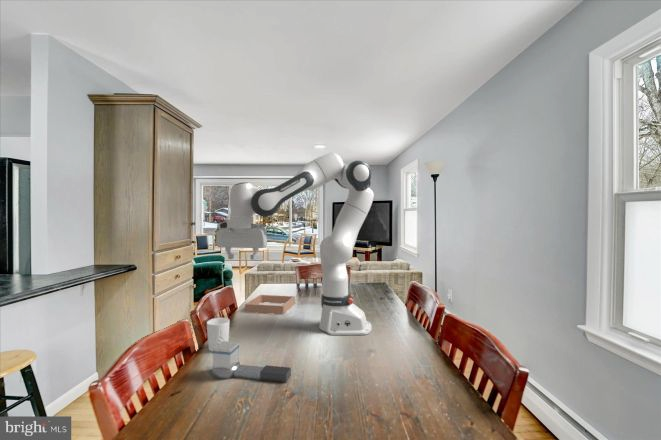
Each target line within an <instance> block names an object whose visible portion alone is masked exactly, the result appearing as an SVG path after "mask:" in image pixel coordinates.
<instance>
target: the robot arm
mask: <svg viewBox="0 0 661 440" xmlns="http://www.w3.org/2000/svg"><path fill="white" fill-rule="evenodd" d="M371 178H372V169H371V167H370V165H369V164H368V163H366V162H365V161H362V160H354V161H350V162H346V163H345V162H344V160H343V159H342V157H341V156H340V155H339V154H338V153H335V152H330V153H326V154H324V155H321V156H318V157H316V158H315V159H313V160H311V161H309V162H308V163H306V164H305V165H304V166H302V167H301V168H300V169H299V170H298V172H297V173H296V174H295V175H294V176H293V177H291V178H290V179H287V180H286V181H285V182H283V183H281V184H279V185H277V186H275V187H273V188H272V187H271V188H262V189H261V188H258V187H256V186H255V185H254V184H252V183H251V182H249V181H248V182H247V181H246V182H238V183H235V184H233V185H232V186H231V188H230V191H229V207H230V213H229V219H227V220H225V221H222V222H219V223H218V224H217V228H218V230H217V232H216V237H215V242H216V246H217V247H218V248H225V249H224V251H225V252H226V254H227V258H228V260H234V257H235V256H234V253H232V249H233V248H237V249H239V248H240V249H241V248H242V249H243V248H244V249H245V248H246V249H248V248H249V249H252V251H253V252H252V254H250V260H252V261H253V260H256V259H257V257H256V256H257V253H258V252H259V251H260V250H259V249H264V248H266V247H267V246H268V237H267V233H268V232H267V231H268V230H267V229H268V228H267V226H266V225H264V224H262V223H260V224H259V223H254V214H257V215H258V216H259V217H264V218H265V217H266V218H267V217H270V216H272V215H274V214H275V213H277V211H278V210H279V208H280V206H282V204H283V203H285V202H286V201H287V200H289V199H292V198H293V197H294V196H297V195H298V194H300V193H302V192H305V191H313V190H316V189H318V188H320V187H323V186H325V185H326V184H328V183H329V182H331V181H333V180H334V181H335V182H336V183H337V184H338V185H339V186H340V187H341V188H343V189H348V195H347V198H346V199H345V201H344V204H343V206H342V207H341V209H340V211H339V213H338V214H337V217H336V218H335V219H336V220H335V222H334V223H335V224H334V226H333V229H332V232H331V235H328V236H325V237H324V238H323V239H322V240H321V242H320V244H319V254H320V256H319V257H320V266H321V274H322V275H321V276H322V277H321V278H322V294H321V297H320V298H321V299H320V300H321V301H320V303H321V304H320V305H321V316H320V322H319V326H318V328H319V330H320V331H323V332H325V333H327V334H328V335H331V336H345V335H346V336H348V335H349V336H354V335H355V336H357V335H358V336H360V335H361V336H364V335H368V334H369V333H371V331H372V328H373V327H372V323H371V322H370V321H368V320H367V317H366V313H365V312H364V310H362V309H361V308H360V307H359V306H357V305H356V304H354V303H353V302H354V296H353V294H349V274H348V271H347V270H348V269H347V264H346V263H348V262H349V261H350V260H351V259H352V257H353V252H354V247H355V245H356V242H357V238H358V235H359V232H360V230H361V228H362V226H363V224H364V222H365V220H366V218H367V216H368V213H369V212H370V209H371V207H372V204H373V201H374V197H375V195H374V194H375V193H374V191H373V190H372V189H371V188H370V186H371Z"/></svg>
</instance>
